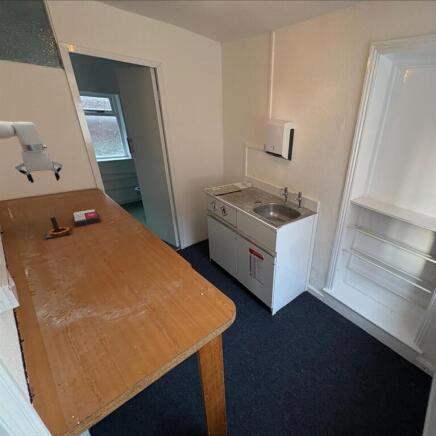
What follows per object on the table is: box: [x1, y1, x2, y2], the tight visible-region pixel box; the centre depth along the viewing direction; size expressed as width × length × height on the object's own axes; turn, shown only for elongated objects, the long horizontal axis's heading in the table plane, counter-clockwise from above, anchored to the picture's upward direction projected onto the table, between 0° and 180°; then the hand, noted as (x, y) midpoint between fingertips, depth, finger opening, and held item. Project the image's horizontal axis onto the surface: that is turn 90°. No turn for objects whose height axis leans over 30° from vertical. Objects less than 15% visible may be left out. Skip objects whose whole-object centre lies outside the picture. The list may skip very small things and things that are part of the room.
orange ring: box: [48, 226, 71, 235], centre depth 125 cm, size 8×8×1 cm
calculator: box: [72, 208, 100, 227], centre depth 141 cm, size 11×4×15 cm
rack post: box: [45, 215, 71, 240], centre depth 123 cm, size 9×9×10 cm
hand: (45, 181), depth 124 cm, fingers open, 9 cm apart
